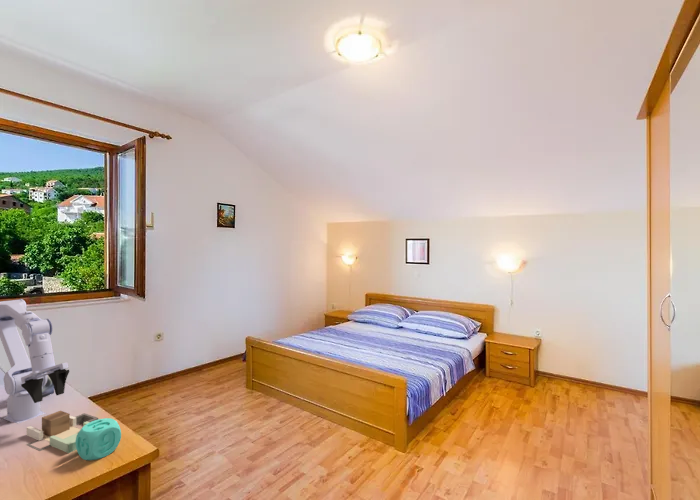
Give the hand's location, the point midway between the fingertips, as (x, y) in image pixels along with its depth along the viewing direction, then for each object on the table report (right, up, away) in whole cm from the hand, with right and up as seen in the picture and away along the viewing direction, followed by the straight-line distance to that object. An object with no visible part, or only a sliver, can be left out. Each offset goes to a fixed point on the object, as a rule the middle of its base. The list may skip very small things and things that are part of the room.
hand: (49, 398), depth 111 cm
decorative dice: (+24, -11, -11) cm, 28 cm away
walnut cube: (+3, -10, -2) cm, 11 cm away
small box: (-26, -10, +23) cm, 36 cm away
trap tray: (+8, -11, -4) cm, 14 cm away
